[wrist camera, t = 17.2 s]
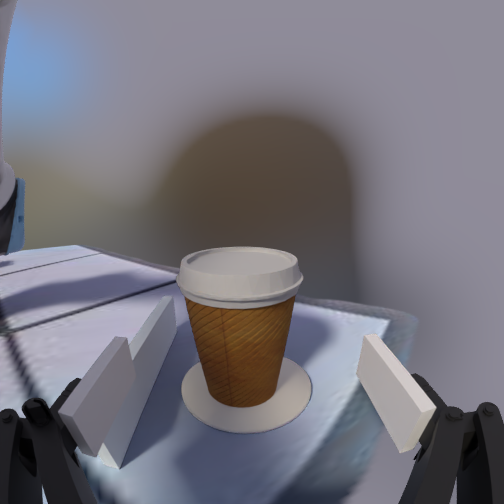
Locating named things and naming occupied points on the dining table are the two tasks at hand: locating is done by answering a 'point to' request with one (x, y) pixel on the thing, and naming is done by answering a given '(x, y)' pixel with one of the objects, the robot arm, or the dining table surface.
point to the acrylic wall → (140, 378)
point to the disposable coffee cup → (240, 318)
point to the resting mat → (250, 418)
